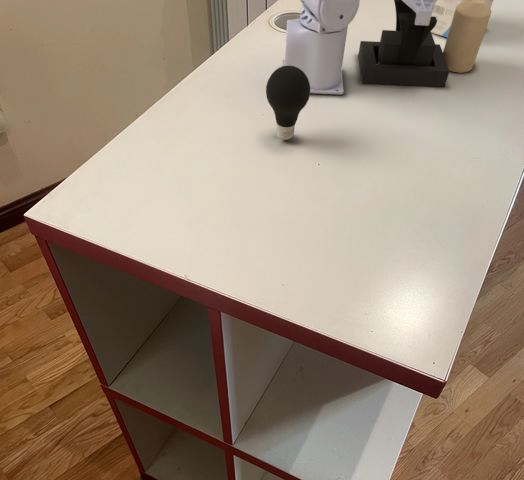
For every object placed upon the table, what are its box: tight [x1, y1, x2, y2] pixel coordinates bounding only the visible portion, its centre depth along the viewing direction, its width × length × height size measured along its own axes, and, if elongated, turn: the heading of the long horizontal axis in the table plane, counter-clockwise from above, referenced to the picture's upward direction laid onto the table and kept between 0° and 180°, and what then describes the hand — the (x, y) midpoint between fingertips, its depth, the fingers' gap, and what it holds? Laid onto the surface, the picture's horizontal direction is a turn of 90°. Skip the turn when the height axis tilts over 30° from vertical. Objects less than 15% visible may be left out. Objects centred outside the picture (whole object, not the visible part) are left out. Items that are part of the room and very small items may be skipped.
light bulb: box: [265, 66, 311, 142], centre depth 70 cm, size 6×6×10 cm
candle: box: [442, 0, 492, 74], centre depth 84 cm, size 6×6×10 cm
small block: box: [378, 29, 436, 66], centre depth 84 cm, size 8×5×4 cm, turn 87°
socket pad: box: [357, 40, 450, 88], centre depth 85 cm, size 14×10×2 cm
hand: (403, 55), depth 84 cm, fingers closed on small block, 5 cm apart
